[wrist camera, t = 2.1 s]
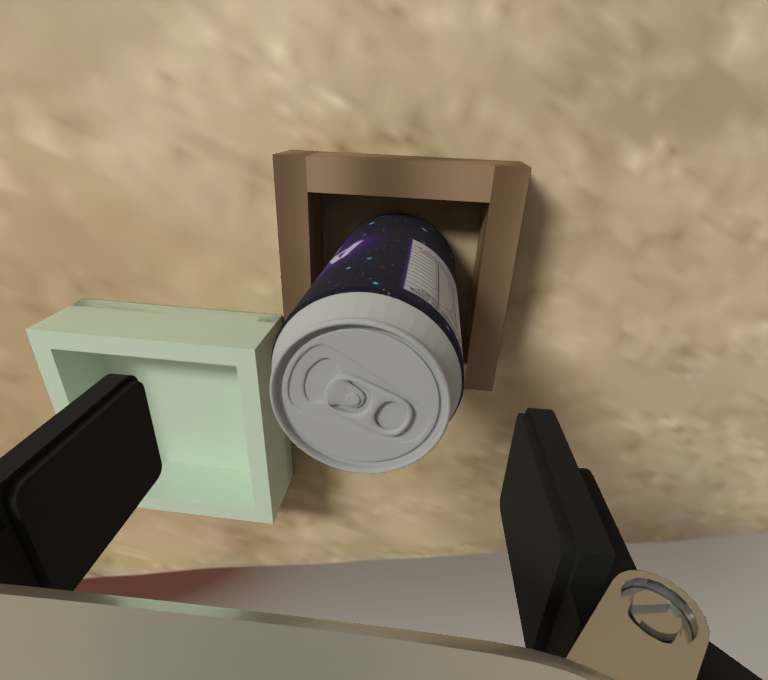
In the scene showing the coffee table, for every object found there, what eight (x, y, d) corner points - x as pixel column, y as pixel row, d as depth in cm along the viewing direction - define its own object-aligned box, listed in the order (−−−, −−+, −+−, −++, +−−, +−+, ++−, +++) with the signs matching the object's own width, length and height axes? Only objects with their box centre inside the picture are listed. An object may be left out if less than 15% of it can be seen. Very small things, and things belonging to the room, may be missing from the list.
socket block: (521, 161, 20) (531, 167, 17) (487, 365, 24) (492, 391, 22) (290, 150, 21) (272, 154, 18) (301, 349, 25) (287, 371, 23)
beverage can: (370, 187, 21) (297, 264, 10) (476, 243, 22) (510, 370, 11) (325, 288, 24) (229, 433, 13) (420, 336, 24) (404, 511, 13)
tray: (281, 315, 24) (254, 349, 21) (293, 474, 30) (273, 524, 26) (83, 299, 25) (25, 329, 22) (128, 456, 31) (87, 501, 27)
